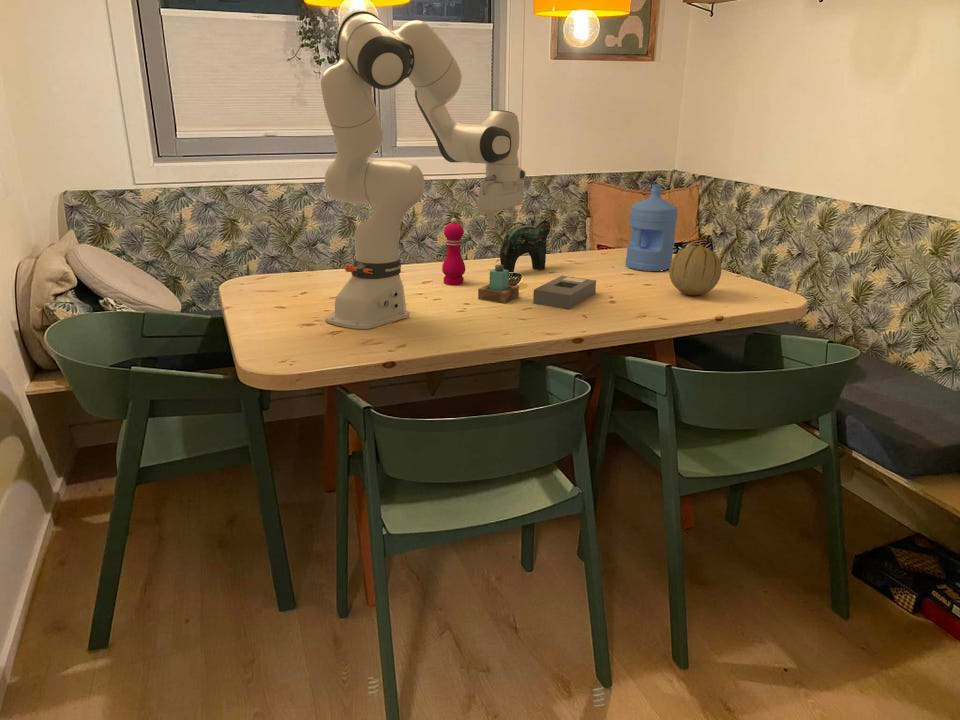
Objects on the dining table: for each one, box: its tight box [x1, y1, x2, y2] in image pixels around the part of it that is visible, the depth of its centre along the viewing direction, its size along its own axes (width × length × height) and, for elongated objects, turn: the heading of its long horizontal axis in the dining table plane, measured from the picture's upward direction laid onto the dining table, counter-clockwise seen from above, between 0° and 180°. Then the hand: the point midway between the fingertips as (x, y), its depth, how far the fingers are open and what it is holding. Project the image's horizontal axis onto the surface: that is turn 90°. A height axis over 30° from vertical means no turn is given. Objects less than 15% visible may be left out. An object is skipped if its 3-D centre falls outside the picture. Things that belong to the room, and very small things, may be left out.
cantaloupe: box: [668, 242, 722, 296], centre depth 204 cm, size 15×15×15 cm
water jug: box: [625, 183, 678, 272], centre depth 235 cm, size 16×16×28 cm
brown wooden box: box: [477, 284, 520, 304], centre depth 198 cm, size 9×9×3 cm
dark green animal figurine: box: [499, 210, 551, 273], centre depth 227 cm, size 20×6×20 cm, turn 130°
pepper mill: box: [441, 217, 466, 286], centre depth 211 cm, size 7×7×20 cm
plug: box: [488, 264, 510, 291], centre depth 197 cm, size 4×4×10 cm
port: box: [532, 275, 597, 310], centre depth 199 cm, size 20×11×4 cm, turn 151°
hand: (500, 225), depth 192 cm, fingers open, 8 cm apart
